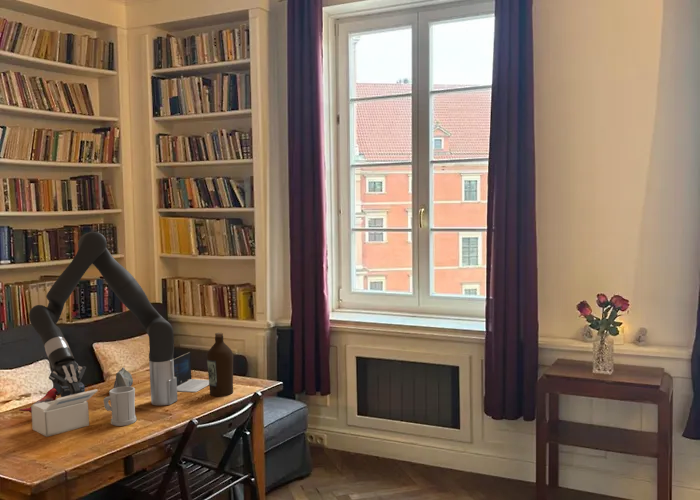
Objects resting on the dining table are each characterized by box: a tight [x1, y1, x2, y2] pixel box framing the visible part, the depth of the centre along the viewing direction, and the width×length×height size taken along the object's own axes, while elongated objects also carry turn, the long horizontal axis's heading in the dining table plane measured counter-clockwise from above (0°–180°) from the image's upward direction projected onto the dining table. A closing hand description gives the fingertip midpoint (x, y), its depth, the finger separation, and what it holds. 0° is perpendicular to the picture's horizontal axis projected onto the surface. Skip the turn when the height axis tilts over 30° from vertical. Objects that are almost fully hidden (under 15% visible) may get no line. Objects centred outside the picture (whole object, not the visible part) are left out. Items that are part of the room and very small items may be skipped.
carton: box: [30, 399, 90, 438], centre depth 237 cm, size 12×15×9 cm
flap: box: [47, 388, 99, 410], centre depth 229 cm, size 1×14×10 cm
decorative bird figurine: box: [18, 387, 59, 413], centre depth 247 cm, size 3×18×10 cm, turn 156°
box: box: [59, 381, 86, 397], centre depth 255 cm, size 8×6×11 cm
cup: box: [103, 386, 137, 427], centre depth 240 cm, size 10×9×12 cm
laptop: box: [173, 351, 209, 393], centre depth 287 cm, size 18×12×13 cm
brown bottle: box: [206, 332, 234, 397], centre depth 274 cm, size 11×11×25 cm
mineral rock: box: [112, 367, 134, 389], centre depth 285 cm, size 13×11×10 cm
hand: (76, 393), depth 226 cm, fingers closed
